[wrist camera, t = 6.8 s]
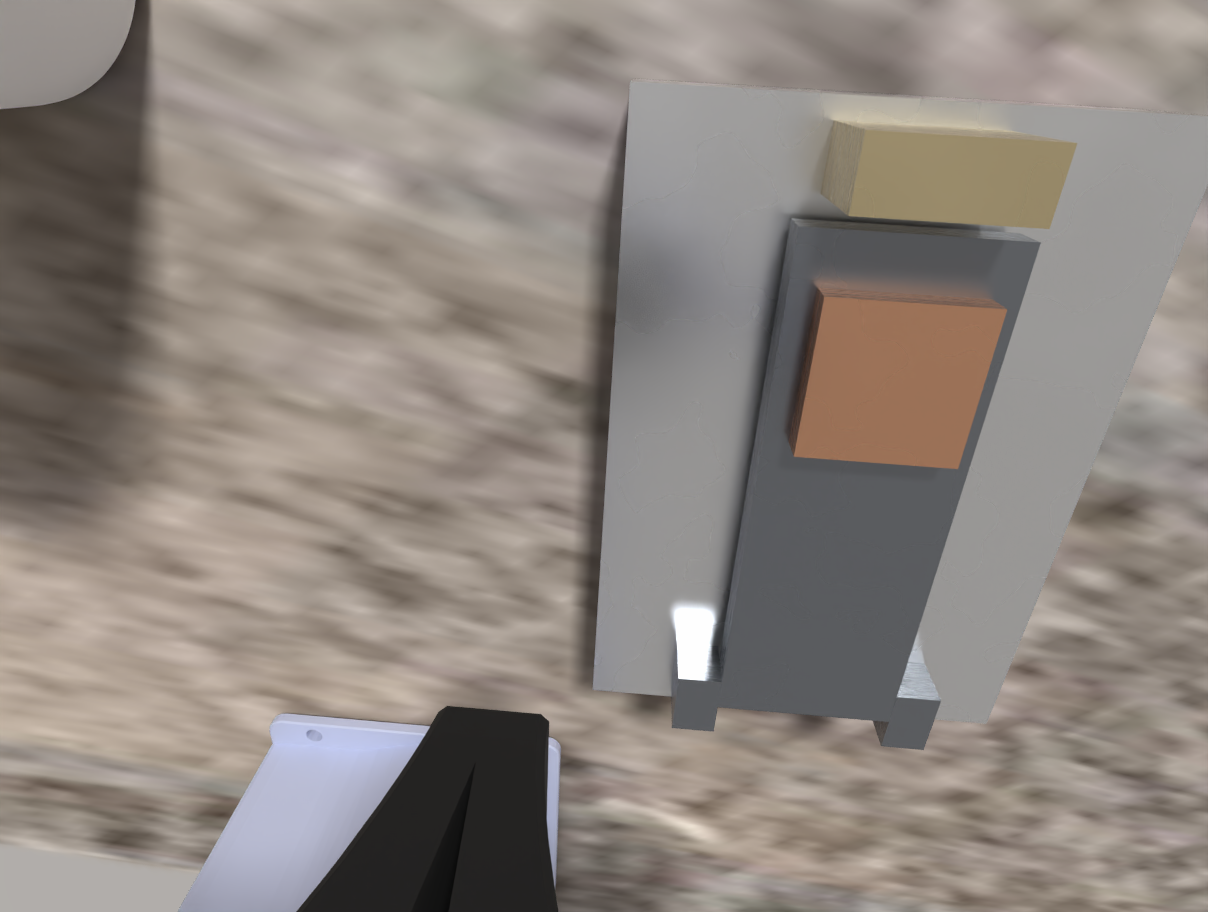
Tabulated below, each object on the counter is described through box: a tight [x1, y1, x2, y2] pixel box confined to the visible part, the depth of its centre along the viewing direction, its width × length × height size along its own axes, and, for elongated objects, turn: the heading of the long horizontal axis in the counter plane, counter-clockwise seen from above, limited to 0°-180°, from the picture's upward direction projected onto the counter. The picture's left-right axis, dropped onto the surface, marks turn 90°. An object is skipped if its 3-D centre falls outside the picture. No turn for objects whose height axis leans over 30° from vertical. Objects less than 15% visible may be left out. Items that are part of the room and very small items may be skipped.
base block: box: [593, 79, 1208, 750], centre depth 16 cm, size 10×14×5 cm
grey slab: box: [718, 218, 1041, 722], centre depth 15 cm, size 4×11×1 cm, turn 177°
